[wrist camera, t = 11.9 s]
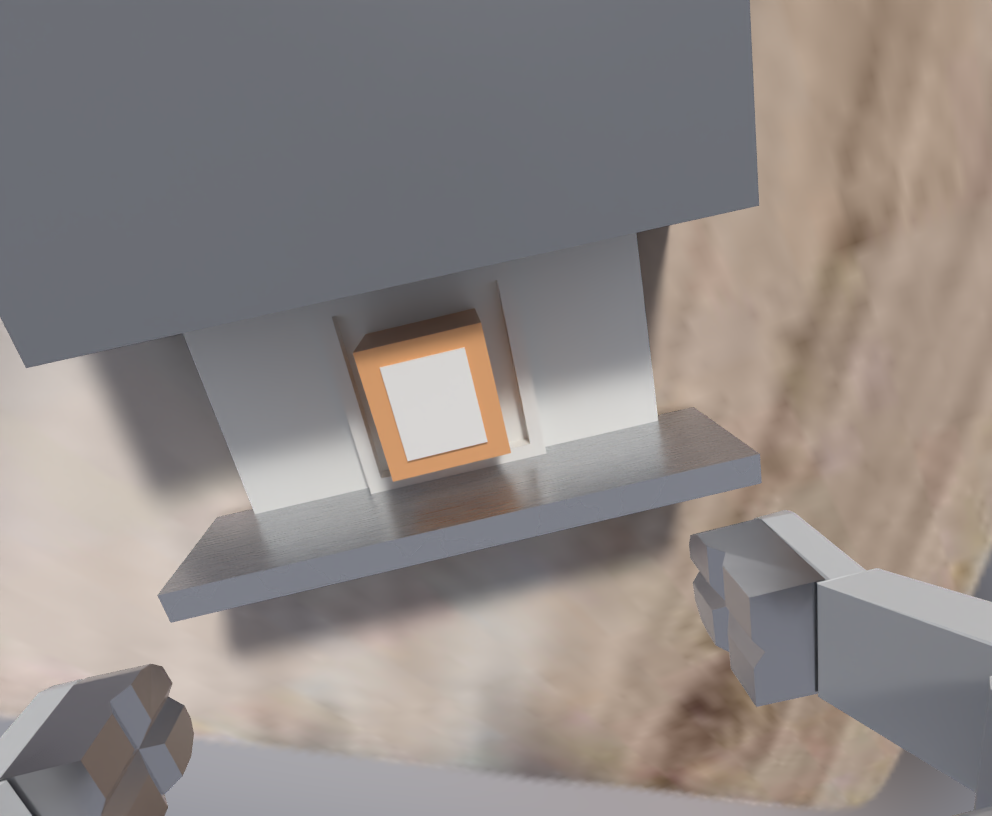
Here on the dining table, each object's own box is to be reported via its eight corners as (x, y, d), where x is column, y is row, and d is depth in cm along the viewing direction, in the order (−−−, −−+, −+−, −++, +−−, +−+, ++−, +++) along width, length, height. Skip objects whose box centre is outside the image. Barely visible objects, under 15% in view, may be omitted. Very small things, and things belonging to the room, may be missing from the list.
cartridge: (365, 334, 22) (352, 353, 19) (474, 308, 22) (481, 322, 19) (399, 446, 24) (392, 483, 20) (501, 421, 24) (511, 453, 20)
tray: (71, 168, 20) (-64, 147, 15) (657, 44, 21) (734, -21, 15) (228, 537, 25) (170, 622, 20) (693, 429, 26) (761, 483, 20)
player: (-75, -180, 17) (-368, -412, 11) (622, -314, 18) (721, -606, 11) (140, 328, 22) (26, 368, 16) (672, 211, 23) (758, 205, 17)
